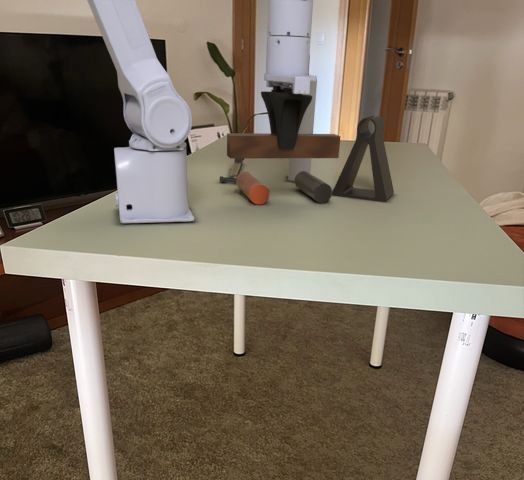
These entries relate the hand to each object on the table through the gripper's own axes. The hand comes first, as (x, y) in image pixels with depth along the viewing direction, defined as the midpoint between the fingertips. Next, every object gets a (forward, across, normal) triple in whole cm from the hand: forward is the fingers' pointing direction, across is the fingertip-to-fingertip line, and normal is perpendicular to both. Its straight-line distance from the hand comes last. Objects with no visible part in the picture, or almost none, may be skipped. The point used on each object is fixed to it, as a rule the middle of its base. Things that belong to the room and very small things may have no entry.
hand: (283, 146), depth 79 cm
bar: (+1, 0, 0) cm, 1 cm away
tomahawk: (+9, +26, 0) cm, 27 cm away
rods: (+8, +6, -2) cm, 11 cm away
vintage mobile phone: (+9, +19, -9) cm, 23 cm away
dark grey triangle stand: (+9, +6, -16) cm, 19 cm away
